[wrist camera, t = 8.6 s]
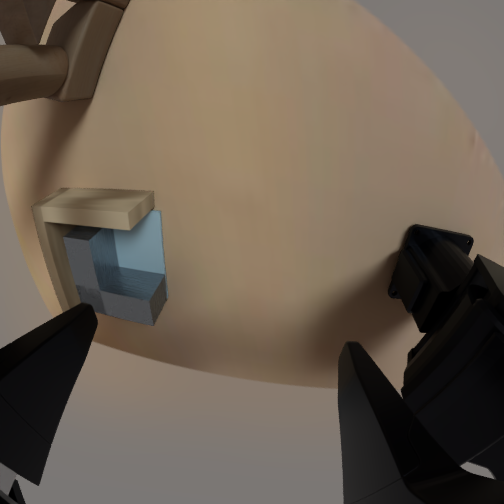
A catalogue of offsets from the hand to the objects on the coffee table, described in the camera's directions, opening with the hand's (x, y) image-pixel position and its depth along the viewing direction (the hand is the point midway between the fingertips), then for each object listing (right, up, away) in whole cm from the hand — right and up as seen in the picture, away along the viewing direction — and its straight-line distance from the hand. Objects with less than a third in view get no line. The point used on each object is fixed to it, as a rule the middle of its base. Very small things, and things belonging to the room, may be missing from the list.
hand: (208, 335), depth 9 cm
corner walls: (-10, +3, +13) cm, 17 cm away
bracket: (-9, +2, +13) cm, 16 cm away
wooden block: (-10, +19, +4) cm, 22 cm away
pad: (-10, +3, +13) cm, 17 cm away
